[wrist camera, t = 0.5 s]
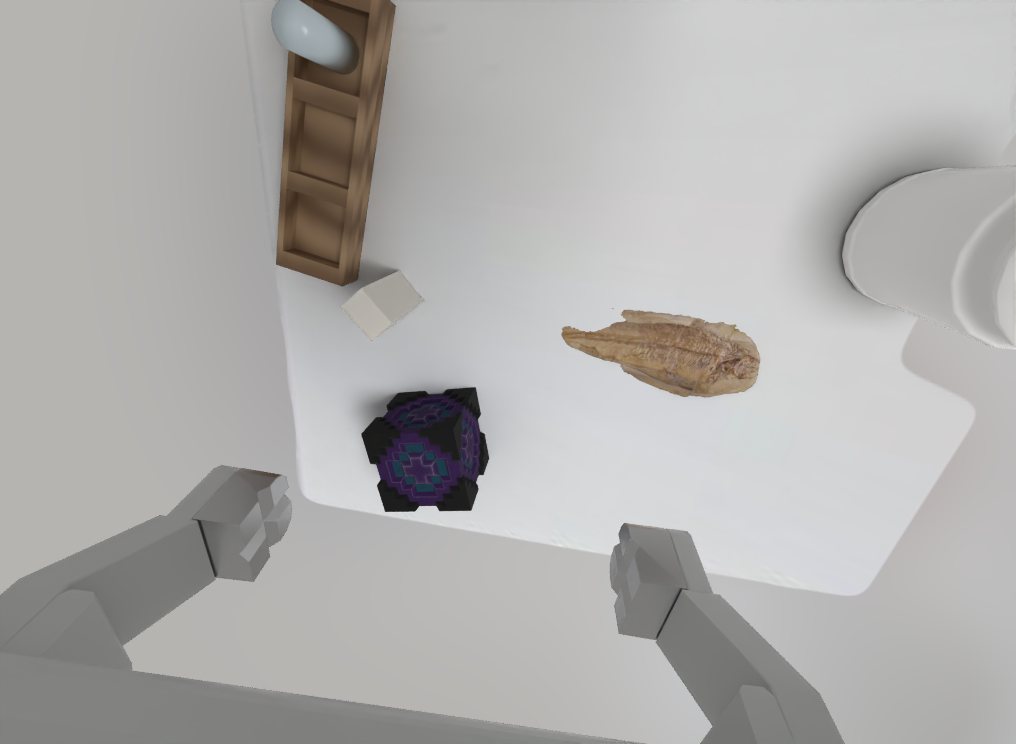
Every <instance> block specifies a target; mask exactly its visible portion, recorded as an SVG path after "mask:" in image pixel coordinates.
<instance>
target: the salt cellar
mask: <svg viewBox="0 0 1016 744" xmlns="http://www.w3.org/2000/svg"><path fill="white" fill-rule="evenodd" d="M272 28H273V32H274V34H275V36H276V38H277V40H278V41H279V43H280V44H281V45H282V46H283V47H284V48H286V49H288V50H290V51H292V52H294V53H296V54H298V55H300V56H302V57H305V58H307V59H309V60H311V61H313V62H315V63H317V64H319V65H322V66H324V67H326V68H328V69H330V70H332V71H334V72H337V73H339V74H342V75H347V74H350V73H352V72H353V71H354V70H355V69H356V67H357V66H358V63H359V59H360V52H359V47H358V44H357V42H356V40H355V39H354V37H353V36H352V35H351V34H349V33H348V32H347V31H345V30H343V29H342V28H340V27H339V26H337V25H336V24H334V23H333V22H331V21H330V20H328V19H327V18H325V17H324V16H322V15H321V14H319V13H318V12H316V11H315V10H313V9H312V8H310V7H309V6H307V5H306V4H304V3H303V2H301V1H300V0H279V1H278V2H277V3H276V5H275V7H274V9H273V12H272Z"/></svg>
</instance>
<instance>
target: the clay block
mask: <svg viewBox="0 0 1016 744" xmlns="http://www.w3.org/2000/svg"><path fill="white" fill-rule="evenodd" d="M423 301H424V299H423V298H422V297H421V296H420V295H419V293H418V292H417V291H416V290H415V289H414V287H413V286H412V285H411V284H410V283H409V281H408V280H407V279H406V278H405V277H404V275H403V274H402V273H401V272H400V271H397V272H395V273H393V274H391V275H388V276H386V277H384V278H382V279H380V280H377V281H375V282H373V283H371V284H369V285H366V286H364V287H362V288H360V289H359V290H358V291H357V292H356V293H355V294H354V295H353V296H352V297H351V298H350V299H348V300H347V301H346V302H345V303H344V304H343V305H342V306H341V308H342V309H343V310H344V311H345V312H346V313H347V314H348V316H349V317H350V318H351V319H352V320H353V321H354V322H355V323H356V324H357V326H358V327H359V328H360V329H361V330H362V331H363V332H364V333H365V335H366V336H367V337H368V338H369V339H370V340H371V341H372V340H374V339H375V338H376V337H378V336H379V335H380V334H382V333H383V332H385V331H386V330H387V329H389V328H390V327H391V326H393V325H394V324H395V323H397V322H398V321H400V320H401V319H402V318H404V317H405V316H406V315H408V314H409V313H410V312H411V311H412V310H414V309H415V308H416V307H417V306H418V305H420V304H421V303H422V302H423Z"/></svg>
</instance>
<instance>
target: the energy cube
mask: <svg viewBox="0 0 1016 744" xmlns="http://www.w3.org/2000/svg"><path fill="white" fill-rule="evenodd" d="M387 410H388V412H387V413H386V415H385V416H384V417H376V418H375V419H374V420H373V422H372V423H371V424H370V425H369V426H368V427H367V428H366V429H365V430H364V432H363V433H362V434H361V435H362V438H363V442H364V445H365V448H366V451H367V455H368V458H369V461H370V464H376V465H377V468H378V472H379V475H380V478H381V480H380V482H379V483H378V485H377V487H378V490H379V493H380V497H381V500H382V503H383V506H384V510H385V512H409V511H416V510H417V508H418V507H419V506H437V508H438V510H439V511H471V510H472V507H473V504H474V501H475V498H476V495H477V492H478V485H477V484H476V481H477V478H478V476H479V475H484V472H485V469H486V466H487V463H488V460H489V455H488V450H487V444H486V439H485V434H484V433H480V429H479V423H478V418H479V417H480V415H481V413H480V408H479V402H478V397H477V392H476V387H474V388H460V389H447V390H446V392H445V393H444V394H434V395H428V394H427V392H426V391H418V392H404V393H398V394H397V395H396V396H395V397H394V398H393V399H392V400H391V401H390V403H389V404H388V405H387Z"/></svg>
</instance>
